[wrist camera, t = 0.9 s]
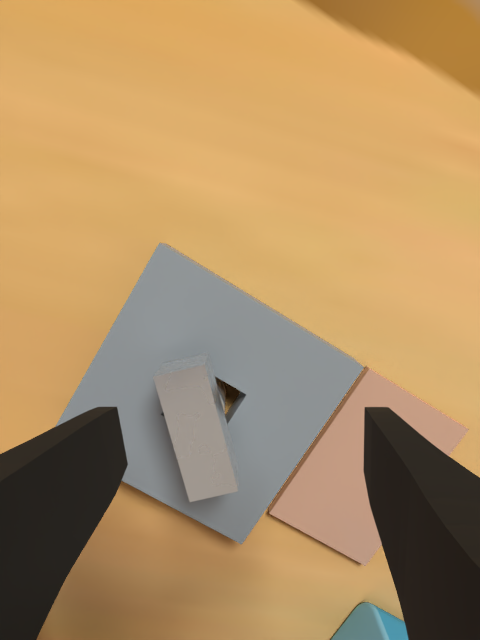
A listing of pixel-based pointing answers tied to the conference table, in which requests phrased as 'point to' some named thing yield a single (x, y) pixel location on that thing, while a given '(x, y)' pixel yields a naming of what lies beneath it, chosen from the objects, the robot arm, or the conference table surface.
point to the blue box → (371, 625)
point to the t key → (198, 425)
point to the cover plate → (229, 366)
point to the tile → (353, 467)
